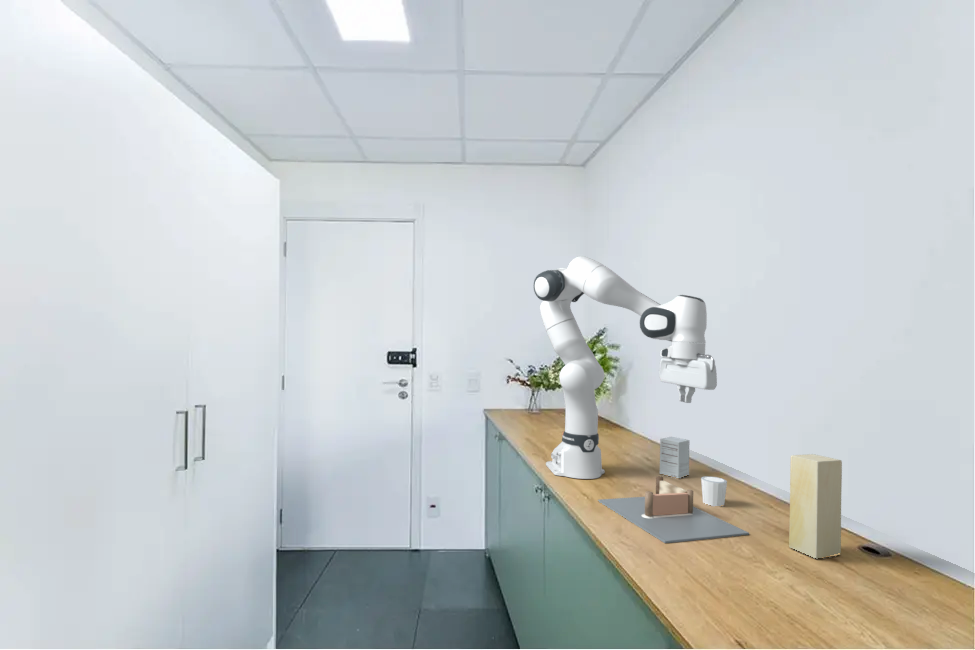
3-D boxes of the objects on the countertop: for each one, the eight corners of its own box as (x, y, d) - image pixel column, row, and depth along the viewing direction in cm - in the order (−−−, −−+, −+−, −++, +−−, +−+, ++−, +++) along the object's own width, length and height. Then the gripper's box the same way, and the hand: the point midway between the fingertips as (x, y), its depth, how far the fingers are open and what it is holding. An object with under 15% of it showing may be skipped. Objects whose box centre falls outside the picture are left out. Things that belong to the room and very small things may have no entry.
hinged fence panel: (689, 510, 135) (690, 489, 135) (694, 513, 133) (695, 491, 133) (643, 513, 131) (643, 491, 132) (647, 516, 129) (648, 493, 130)
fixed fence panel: (654, 497, 147) (654, 476, 147) (659, 496, 148) (660, 476, 148) (683, 511, 135) (684, 489, 135) (689, 511, 135) (690, 489, 136)
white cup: (699, 504, 143) (700, 479, 144) (701, 498, 149) (702, 474, 150) (726, 509, 140) (726, 483, 140) (727, 502, 146) (727, 478, 146)
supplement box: (670, 471, 180) (670, 436, 181) (689, 476, 175) (690, 439, 175) (658, 474, 176) (659, 438, 176) (678, 479, 170) (679, 442, 170)
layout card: (597, 501, 143) (598, 499, 143) (669, 496, 150) (669, 494, 150) (664, 543, 114) (665, 540, 114) (749, 534, 121) (749, 532, 121)
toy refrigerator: (809, 542, 118) (811, 452, 118) (841, 555, 111) (843, 460, 111) (785, 546, 115) (787, 454, 115) (816, 560, 108) (818, 462, 108)
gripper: (724, 355, 132) (721, 408, 131) (674, 351, 151) (671, 397, 151) (704, 354, 130) (701, 407, 130) (656, 350, 149) (653, 396, 149)
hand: (685, 402), depth 140 cm, fingers closed
